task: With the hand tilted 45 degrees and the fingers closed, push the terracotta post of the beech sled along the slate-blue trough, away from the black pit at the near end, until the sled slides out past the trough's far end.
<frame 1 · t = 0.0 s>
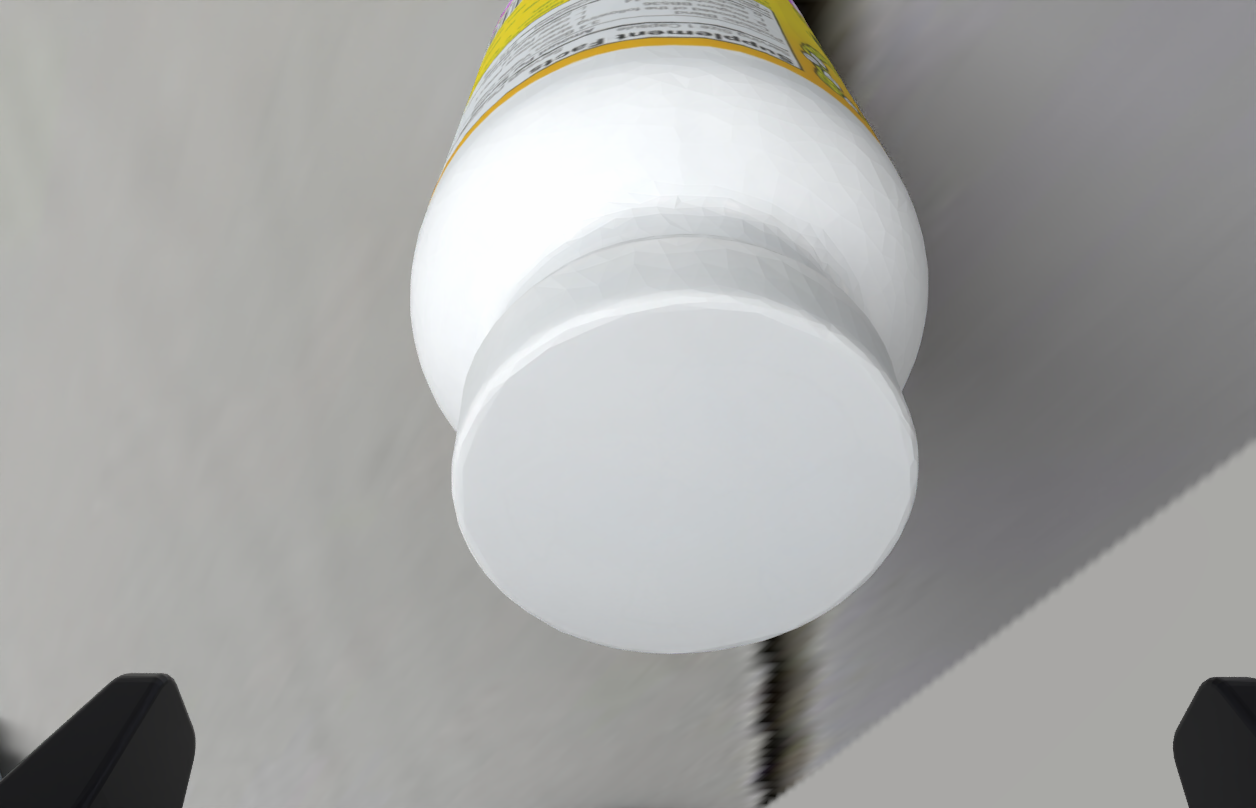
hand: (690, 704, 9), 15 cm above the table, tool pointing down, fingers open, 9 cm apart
supplement bottle: (649, 86, 20), on the table
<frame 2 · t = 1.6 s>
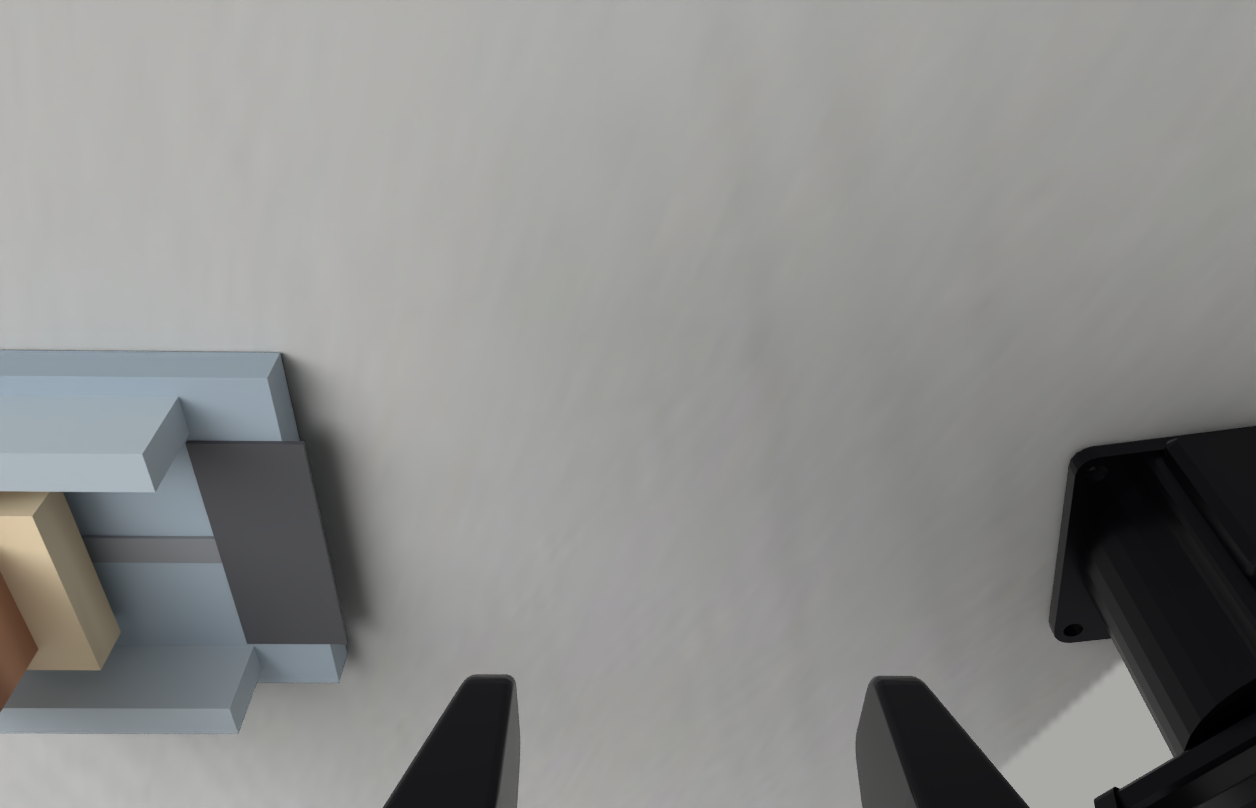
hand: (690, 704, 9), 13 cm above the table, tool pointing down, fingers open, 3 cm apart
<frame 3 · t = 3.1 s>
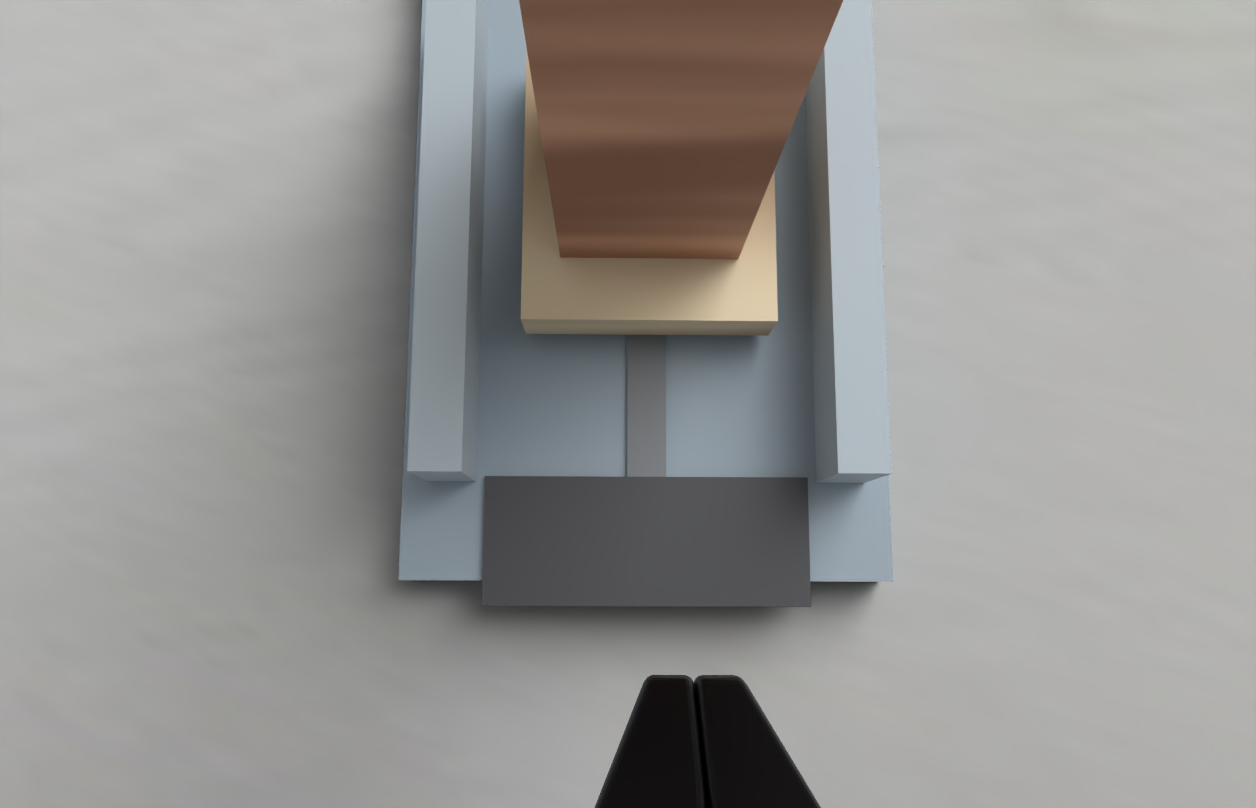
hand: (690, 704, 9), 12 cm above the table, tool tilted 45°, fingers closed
trough board: (644, 178, 23), on the table
sled: (661, 48, 15), point 7 cm above the table, slide at -1.0 cm
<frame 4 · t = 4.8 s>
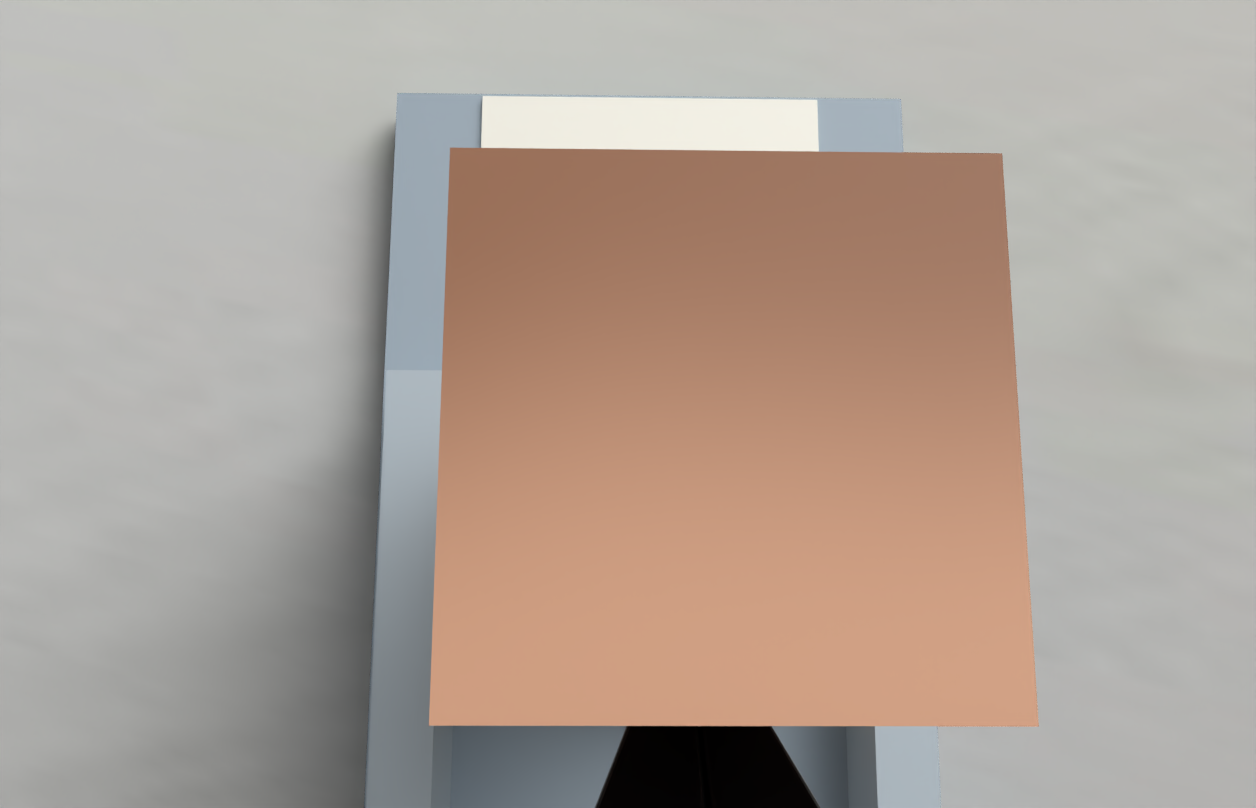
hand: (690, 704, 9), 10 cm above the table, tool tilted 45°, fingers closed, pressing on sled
trough board: (648, 555, 19), on the table
sled: (671, 498, 12), point 7 cm above the table, slide at 0.5 cm, touching gripper
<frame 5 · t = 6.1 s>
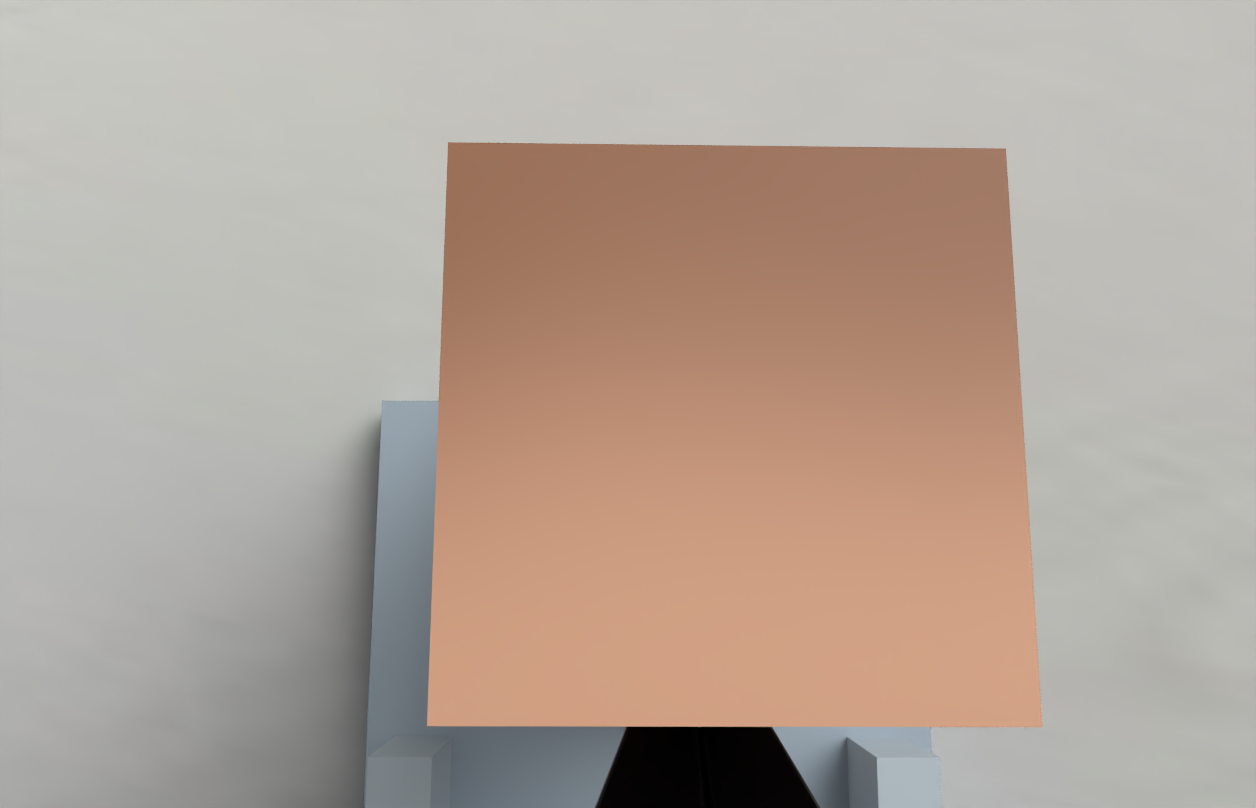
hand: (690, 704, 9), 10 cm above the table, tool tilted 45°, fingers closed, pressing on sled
sled: (671, 497, 12), point 7 cm above the table, slide at 6.8 cm, touching gripper
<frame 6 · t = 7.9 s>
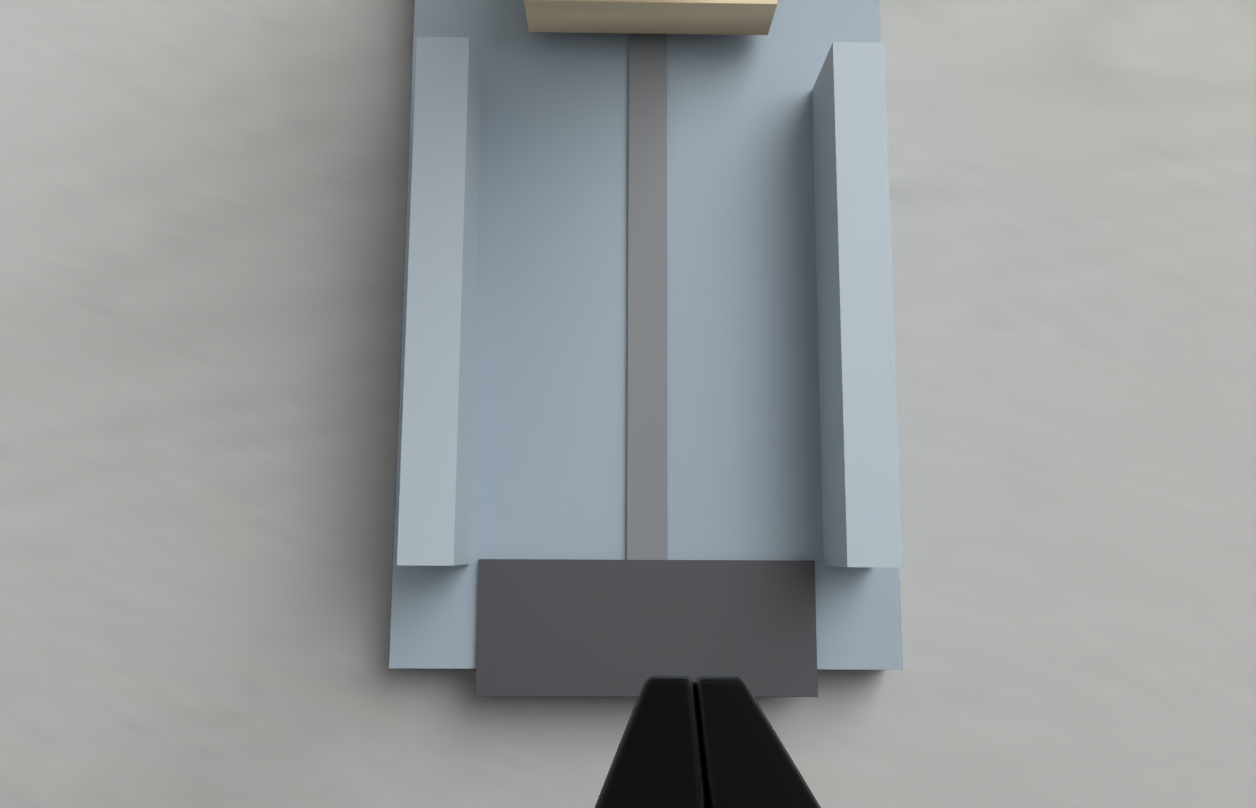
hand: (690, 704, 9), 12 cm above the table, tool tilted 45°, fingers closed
trough board: (645, 238, 22), on the table
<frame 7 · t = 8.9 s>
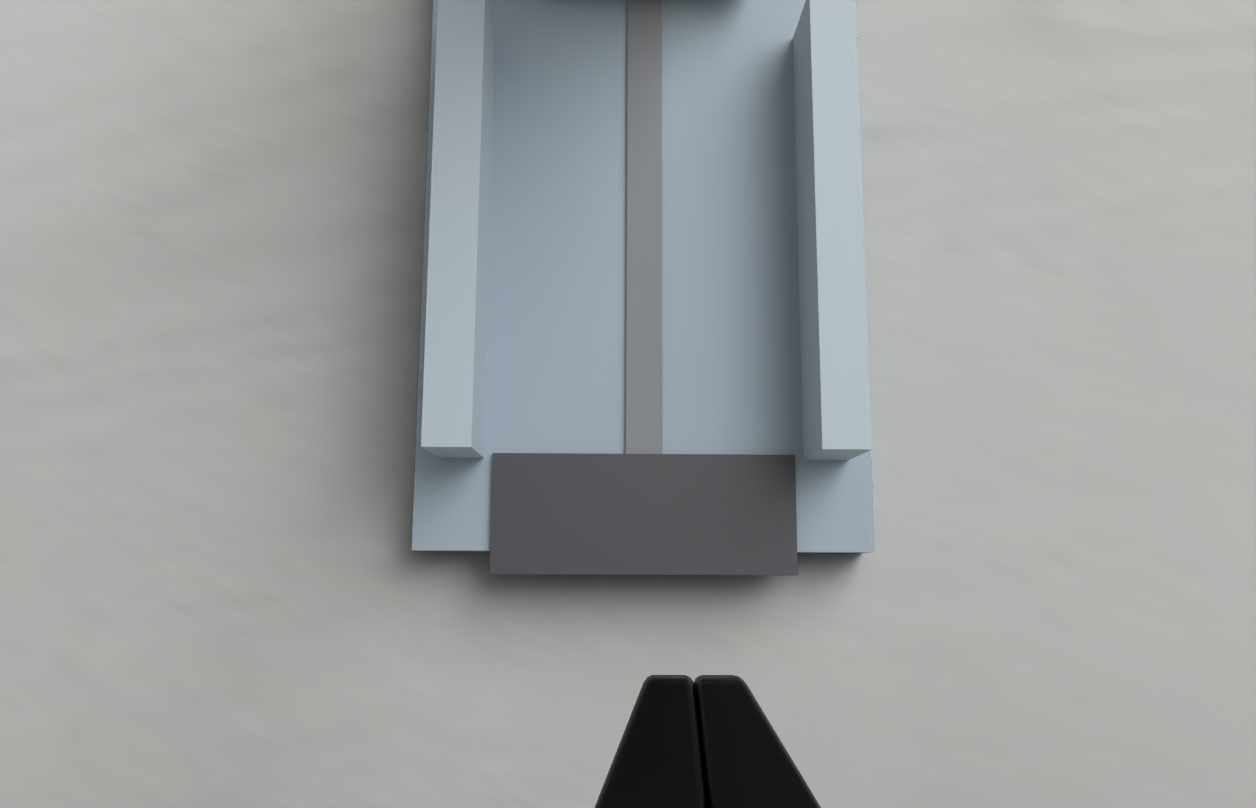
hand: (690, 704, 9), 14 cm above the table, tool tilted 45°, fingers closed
trough board: (643, 174, 24), on the table
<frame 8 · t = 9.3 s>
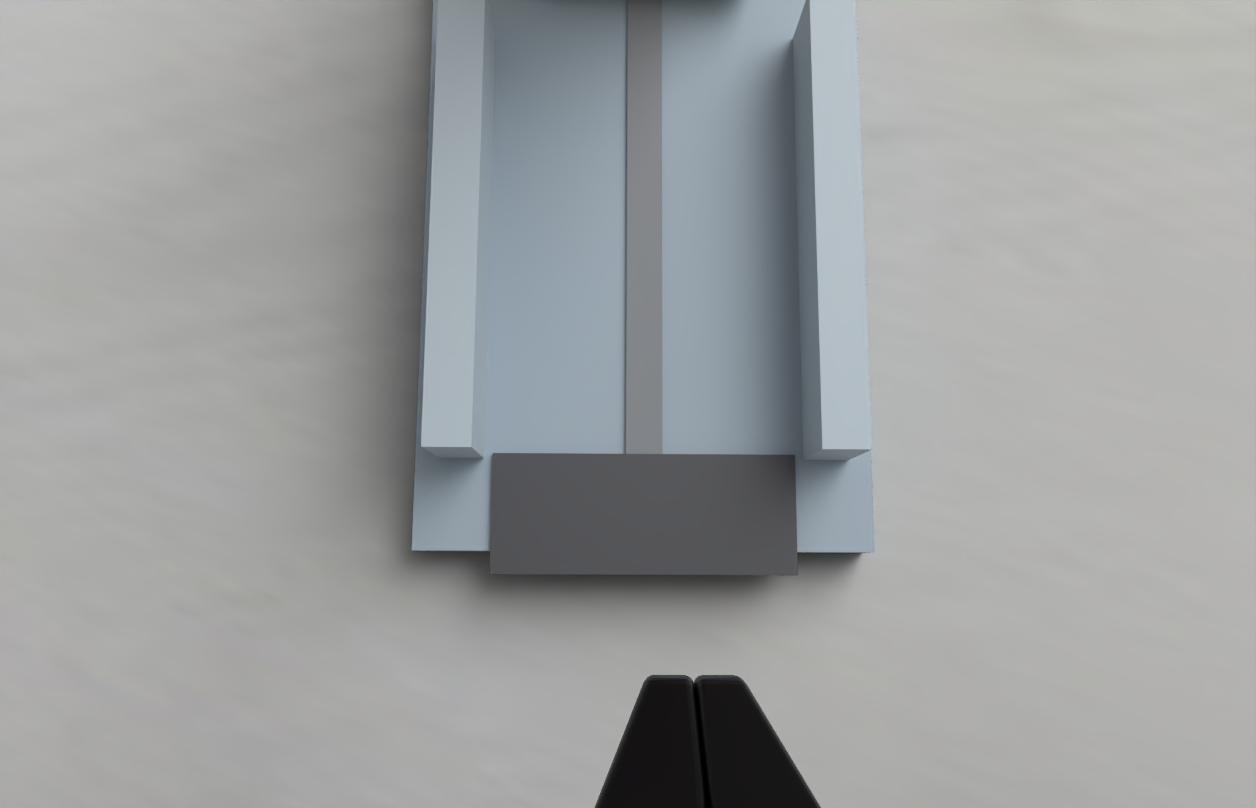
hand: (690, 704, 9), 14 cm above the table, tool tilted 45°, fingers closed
trough board: (643, 174, 24), on the table
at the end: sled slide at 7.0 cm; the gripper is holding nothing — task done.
